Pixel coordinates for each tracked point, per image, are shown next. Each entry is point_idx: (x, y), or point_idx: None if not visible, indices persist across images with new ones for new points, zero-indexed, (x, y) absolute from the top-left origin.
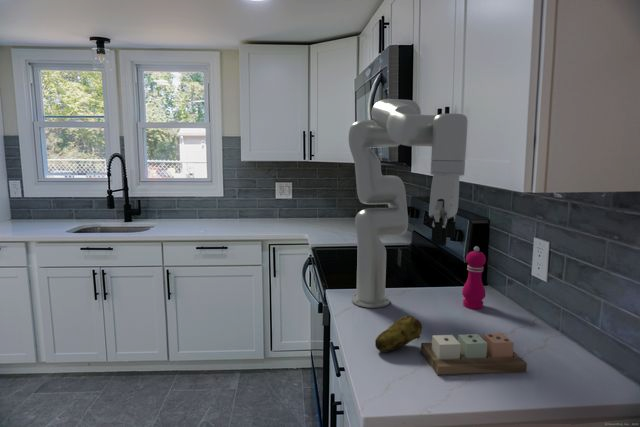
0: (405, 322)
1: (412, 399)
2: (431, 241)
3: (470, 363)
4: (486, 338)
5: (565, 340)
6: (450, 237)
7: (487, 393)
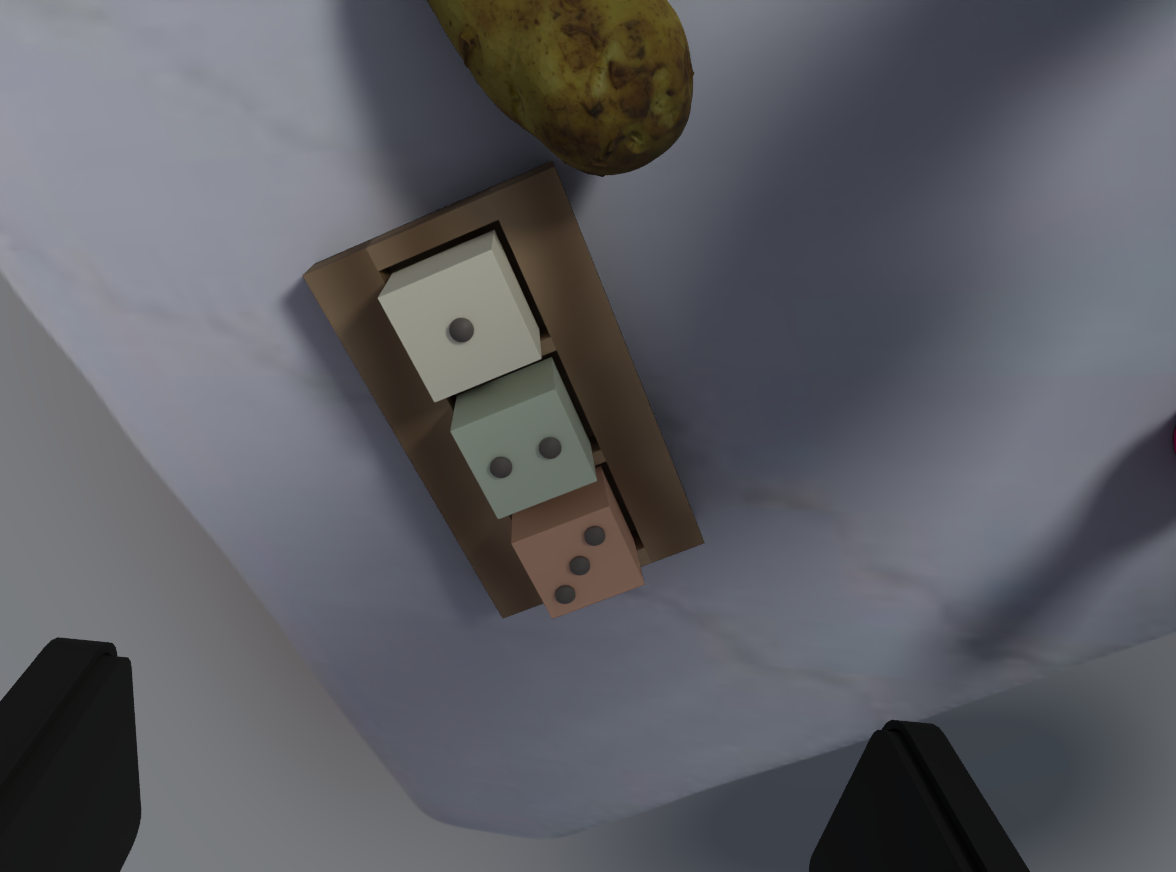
0: (535, 59)
1: (29, 158)
2: (32, 665)
3: (405, 418)
4: (577, 513)
5: (832, 732)
6: (833, 829)
7: (263, 460)
